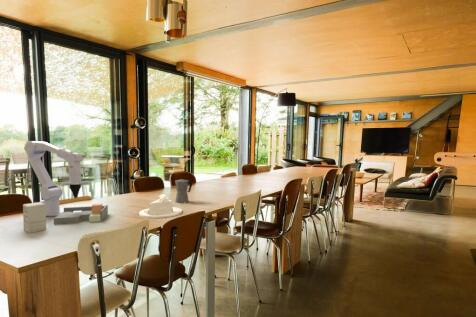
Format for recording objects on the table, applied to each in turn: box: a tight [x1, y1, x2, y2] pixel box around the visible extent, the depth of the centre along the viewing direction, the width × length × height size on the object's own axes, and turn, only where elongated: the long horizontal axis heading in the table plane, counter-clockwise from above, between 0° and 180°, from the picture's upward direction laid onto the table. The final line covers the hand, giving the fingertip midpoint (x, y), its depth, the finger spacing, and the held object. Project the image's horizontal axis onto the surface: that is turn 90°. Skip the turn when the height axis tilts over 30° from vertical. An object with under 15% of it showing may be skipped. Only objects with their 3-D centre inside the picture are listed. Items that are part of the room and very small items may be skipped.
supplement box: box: [22, 201, 47, 234], centre depth 137 cm, size 7×7×13 cm
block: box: [91, 203, 103, 214], centre depth 159 cm, size 4×4×4 cm
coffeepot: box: [174, 176, 193, 204], centre depth 203 cm, size 15×9×18 cm, turn 62°
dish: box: [138, 193, 183, 219], centre depth 171 cm, size 25×25×11 cm
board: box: [53, 204, 109, 225], centre depth 157 cm, size 23×16×6 cm
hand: (75, 197), depth 163 cm, fingers closed
